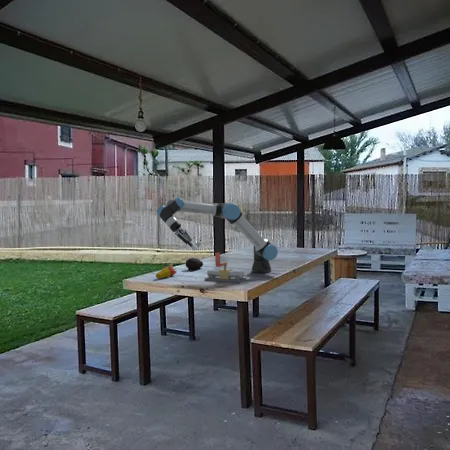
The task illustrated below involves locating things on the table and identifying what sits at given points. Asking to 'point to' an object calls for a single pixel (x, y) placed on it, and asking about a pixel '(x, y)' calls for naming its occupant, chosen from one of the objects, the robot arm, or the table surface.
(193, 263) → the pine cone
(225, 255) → the table surface
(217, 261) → the lever
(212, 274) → the valve base
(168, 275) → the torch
